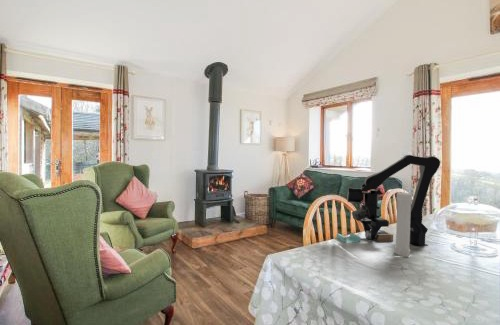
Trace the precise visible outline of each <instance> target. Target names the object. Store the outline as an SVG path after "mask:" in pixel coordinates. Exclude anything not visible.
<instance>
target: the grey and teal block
mask: <svg viewBox="0 0 500 325" xmlns="http://www.w3.org/2000/svg"><path fill="white" fill-rule="evenodd" d="M385 231H386V230H384V229H380V230H379V231H378V233H377V234H386V232H387V231H386V232H385ZM377 234H376V236H375V238H374V239H377ZM364 236H365V239H366V240H368V241H369V240H372V239H371V229H370V230H368V231H366V232H365V231H364ZM374 239H373V240H374Z"/></svg>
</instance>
